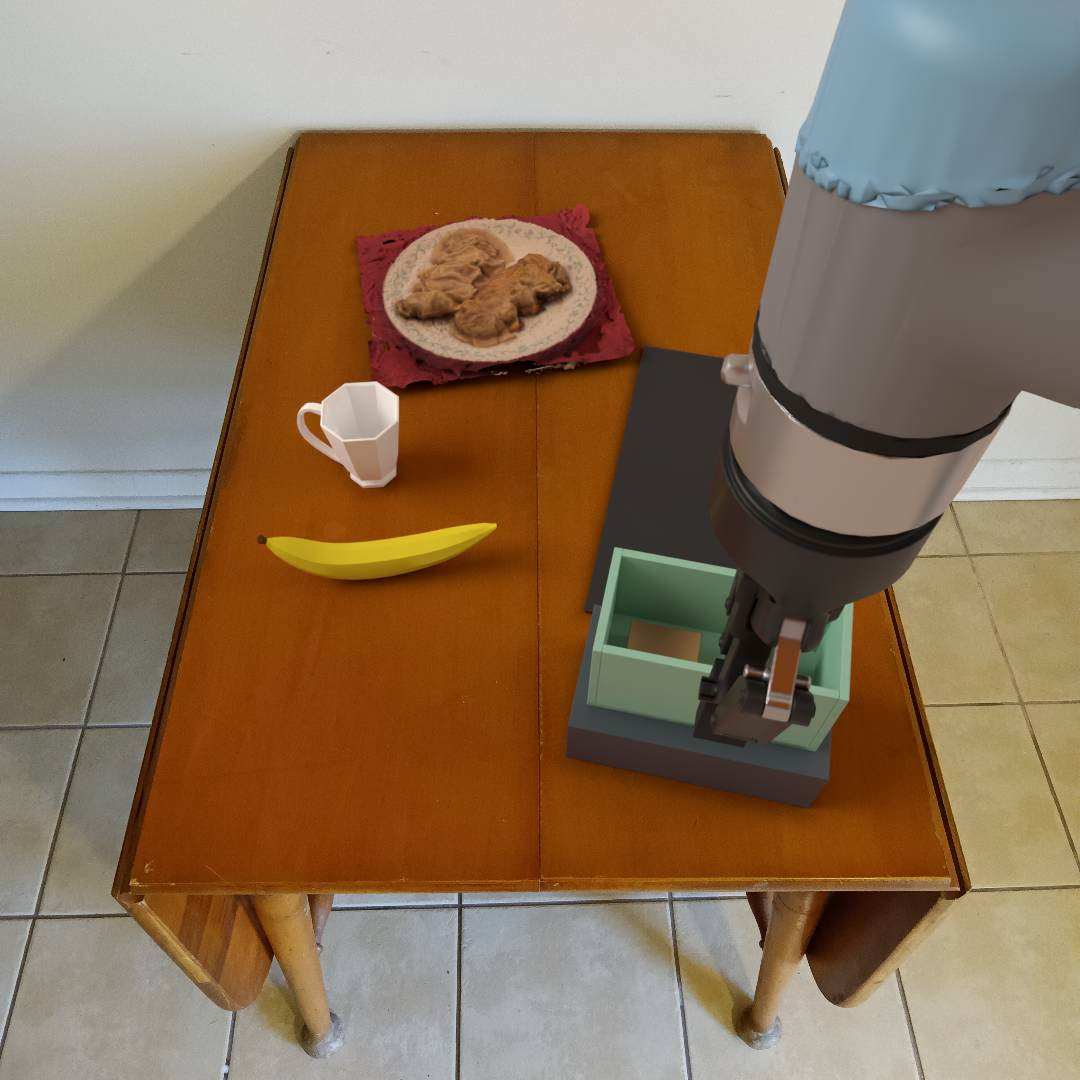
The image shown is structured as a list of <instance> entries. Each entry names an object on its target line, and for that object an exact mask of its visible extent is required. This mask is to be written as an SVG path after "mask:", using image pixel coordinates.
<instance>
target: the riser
mask: <svg viewBox="0 0 1080 1080" xmlns="http://www.w3.org/2000/svg"><path fill="white" fill-rule="evenodd" d="M601 608H602V606H601V605H596V604H595V605H594V608H593V613H591V617H590V623H589V626H588V632H587V636H586V641H585V646H584V649H583V654H582V658H581V663H580V667H579V672H578V676H577V677H578V678H577V682H576V685H575V686H576V687H575V691H574V695H573V700H572V705H571V710H570V714H569V719H568V724H567V732H566V733H567V734H566V747H565V748H566V750H565V757H566V758H570V759H574V760H579V761H583V762H588V763H593V764H597V765H603V766H607V767H611V768H617V769H621V770H626V771H631V772H635V773H640V774H645V775H650V776H653V777H659V778H663V779H669V780H674V781H678V782H682V783H687V784H692V785H696V786H700V787H705V788H710V789H716V790H721V791H725V792H729V793H733V794H740V795H742V796H743V795H744V796H749V797H753V798H758V799H762V800H767V801H772V802H775V803H782V804H786V805H791V806H795V807H800V808H805V809H809V808H810V806H811V805H812V804H813V802H814V801H815V800H816V798H817V797H818V796H819V794H820V792H821V791H822V790H823V789H824V787H825V786H826V785H827V783H828V782H829V781H830V769H831V768H830V767H831V749H832V731H833V726H832V727H831V729H830V731H829V732H828V734H827V735H826V737H825V738H824V740H823V741H822V743H821V744H820V746H819V747H818V749H817V750H816V752H814V751H809V750H805V749H800V748H795V747H790V746H785V745H780V744H775V743H771V742H769V743H768V744H767V745H765V744H761V743H756V742H750V741H747V742H746V744H745V746H744V748H742V747H737V746H733V745H728V744H723V743H718V742H713V741H709V740H704V739H699V738H694V737H693V732H694V727H693V726H688V725H683V724H678V723H673V722H668V721H663V720H659V719H654V718H649V717H644V716H639V715H634V714H629V713H625V712H620V711H615V710H610V709H605V708H600V707H595V706H590V705H587V699H588V690H589V680H590V671H591V661H592V652H593V646H594V641H595V637H596V632H597V627H598V622H599V618H600V613H601Z"/></svg>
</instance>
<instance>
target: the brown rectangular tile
mask: <svg viewBox="0 0 1080 1080" xmlns="http://www.w3.org/2000/svg"><path fill="white" fill-rule="evenodd" d="M700 642H701V633H696V632H691V631H685V630H680V629H675V628H670V627H665V626H660V625H654V624H649V623H644V622H639V621H634V620H632V621H631V626H630V631H629V637H628V642H627V647H626V649H631V650H636V651H641V652H646V653H651V654H656V655H661V656H666V657H672V658H677V659H682V660H687V661H692V662H697V663H698V656H699V649H700Z"/></svg>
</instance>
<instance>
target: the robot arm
mask: <svg viewBox="0 0 1080 1080" xmlns="http://www.w3.org/2000/svg"><path fill="white" fill-rule="evenodd" d="M793 151H794V153H795V157H794V162H793V166H792V169H791V174H790V180H789V183H788V186H787V190H786V195H785V199H784V203H783V207H782V211H781V215H780V220H779V224H778V227H777V232H776V235H775V240H774V244H773V248H772V252H771V256H770V261H769V264H768V269H767V272H766V277H765V281H764V285H763V290H762V293H761V297H760V302H759V304H758V306H757V307H758V308H757V312H756V315H755V319H754V323H753V331H752V333H753V334H752V336H751V339H750V341H749V347H748V354H743V353H742V354H741V353H729V354H727V355H726V356H725V357H723V358H724V362H723V366H722V369H721V378H722V380H723V381H724V382H725V383H726V384H728V385H731V386H738V390H737V394H736V398H735V402H734V406H733V410H732V415H731V420H730V421H729V423H728V425H727V428H726V430H725V433H724V436H723V440H722V444H721V448H720V452H719V455H718V459H717V463H716V467H715V470H714V474H713V478H712V482H711V486H710V491H709V513H710V518H711V522H712V526H713V529H714V531H715V534H716V536H717V538H718V540H719V542H720V544H721V545H722V547H723V549H724V550H725V552H726V553H727V554H728V556H729V557H730V558H731V559H732V560H733V561H734V563H735V564H736V565H737V570H736V573H735V577H734V580H733V584H732V588H731V591H730V595H729V597H728V598H726V601H725V608H726V609H727V610H726V616H729V618H728V621H727V624H726V627H725V629H724V632H722V635H721V636H720V639H719V644H718V646H720V654H722V655H725V658H724V659H720V658H716V659H715V662H714V664H713V667H712V670H711V673H710V675H709V677H706V676H702V678H701V682H700V687H699V693H698V700H700V703H699V706H698V708H697V711H696V717H695V724H694V732H693V737H694V738H699V739H704V740H709V741H713V742H718V743H723V744H728V745H733V746H737V747H742V748H744V746H745V744H746V742H747V741H750V742H756V743H761V744H765V745H767V744H768V743H769V742H770V741H772V740H773V739H774V738H776V737H777V736H778V735H779V734H781V733H782V732H783V731H784V730H786V729H787V728H788V727H789V726H791V725H792V724H795V725H800V726H805V727H808V726H809V724H810V722H811V719H812V718H814V716H815V712H816V705H815V702H814V695H813V694H812V693H811V692H810V691H809V689H810V686H811V678H810V677H809V676H805V675H800V674H797V673H798V668H799V662H800V657H801V653H806V652H810V651H812V650H814V649H815V648H816V647H817V646H818V645H819V644H820V642H821V640H822V638H823V635H824V632H825V628H826V626H827V624H828V623H829V622H832V621H835V620H837V619H838V618H839V616H840V614H841V612H842V610H843V609H844V606H845V605H847V604H850V603H853V602H854V603H855V602H859V601H861V600H864V599H868V598H870V597H872V596H875V595H877V594H879V593H881V592H884V591H885V590H886V589H888V588H890V587H891V586H893V585H894V584H895V583H897V582H898V581H899V580H900V579H901V578H902V577H903V576H904V575H905V574H906V573H907V572H908V570H909V569H910V568H911V566H912V565H913V563H914V562H915V560H916V559H917V557H918V556H919V554H920V552H921V551H922V549H923V547H924V546H925V545H926V543H927V541H928V540H929V538H930V536H931V535H932V533H933V531H934V530H935V528H936V527H937V526H938V523H939V522H940V520H942V519H941V518H942V517H943V516H944V514H945V512H946V510H947V509H948V507H949V506H950V505H951V503H952V502H953V501H954V499H955V498H956V497H957V496H958V494H959V493H960V491H961V490H962V489H963V488H964V486H965V485H966V482H967V481H968V480H969V478H970V476H971V475H972V473H973V471H974V470H975V468H976V467H977V466H978V464H979V462H980V461H981V459H982V458H983V456H984V455H985V453H986V451H987V450H988V448H989V447H990V445H991V443H992V442H993V440H994V439H995V437H996V435H997V434H998V432H999V431H1000V429H1001V427H1002V426H1003V425H1004V423H1005V421H1006V420H1007V418H1008V417H1009V415H1010V414H1011V411H1012V408H1013V404H1014V402H1015V401H1016V400H1017V397H1018V396H1019V395H1020V394H1021V392H1026V393H1029V394H1032V395H1035V396H1037V397H1041V398H1043V399H1045V400H1048V401H1051V402H1054V403H1057V404H1060V405H1064V406H1067V407H1070V408H1073V409H1078V410H1080V0H845V1H844V5H843V7H842V11H841V14H840V17H839V20H838V24H837V27H836V30H835V33H834V36H833V39H832V43H831V45H830V49H829V52H828V55H827V57H826V61H825V64H824V67H823V70H822V73H821V77H820V79H819V82H818V86H817V89H816V93H815V95H814V98H813V102H812V104H811V106H810V109H809V111H808V114H807V116H806V118H805V120H804V121H803V123H802V125H801V126H800V127H799V130H798V134H797V138H796V144H795V147H794V150H793Z"/></svg>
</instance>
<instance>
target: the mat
mask: <svg viewBox="0 0 1080 1080" xmlns="http://www.w3.org/2000/svg"><path fill="white" fill-rule="evenodd" d="M724 358H725V357H719V356H712V355H707V354H706V355H705V354H700V353H694V352H688V351H683V350H682V351H681V350H675V349H670V348H669V349H668V348H664V347H663V348H662V347H657V346H649V345H643V347H642V352H641V357H640V361H639V366H638V370H637V375H636V379H635V384H634V389H633V392H632V398H631V402H630V407H629V411H628V414H627V420H626V423H625V427H624V432H623V433H624V434H623V437H622V438H623V439H622V442H621V447H620V450H619V455H618V460H617V465H616V468H615V473H614V477H613V483H612V487H611V490H610V495H609V500H608V504H607V509H606V513H605V519H604V522H603V526H602V531H601V536H600V539H599V544H598V549H597V554H596V556H595V557H596V558H595V562H594V566H593V572H592V576H591V580H590V585H589V589H588V594H587V597H586V602H585V607H584V613H587V614H592V613H593V608H594V605H595V604H596V605H601V606H602V604H603V599H604V594H605V590H606V585H607V580H608V576H609V571H610V566H611V561H612V557H613V552H614V548H615V547H617V548H622V549H628V550H633V551H639V552H644V553H649V554H655V555H660V556H666V557H671V558H676V559H682V560H687V561H693V562H698V563H704V564H709V565H714V566H720V567H725V568H731V569H736V570H737V565H736V564H735V563H734V561H733V560H732V559H731V558H730V557H729V556H728V554H727V553H726V552H725V550H724V549H723V547H722V545H721V544H720V542H719V540H718V538H717V536H716V534H715V531H714V529H713V526H712V522H711V518H710V513H709V491H710V486H711V482H712V478H713V474H714V470H715V467H716V463H717V459H718V455H719V452H720V448H721V444H722V440H723V436H724V433H725V430H726V428H727V425H728V423H729V421H730V420H731V415H732V410H733V406H734V402H735V398H736V394H737V390H738V386H731V385H728V384H726V383H725V382H724V381H723V380H722V378H721V369H722V366H723V362H724Z"/></svg>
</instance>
